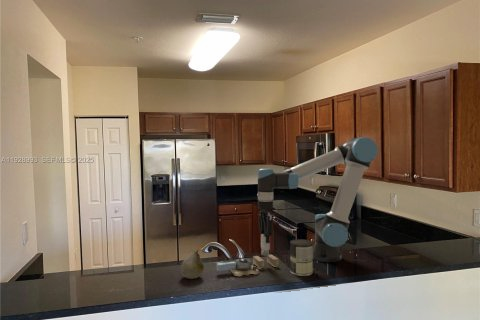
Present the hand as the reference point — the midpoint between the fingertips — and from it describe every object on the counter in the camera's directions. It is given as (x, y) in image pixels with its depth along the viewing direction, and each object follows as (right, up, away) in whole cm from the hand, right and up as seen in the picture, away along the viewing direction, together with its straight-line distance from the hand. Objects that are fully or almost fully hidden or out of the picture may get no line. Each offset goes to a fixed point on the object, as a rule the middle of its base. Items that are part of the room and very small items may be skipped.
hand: (265, 248), depth 172 cm
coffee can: (+16, -9, -9) cm, 21 cm away
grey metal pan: (-15, -7, -9) cm, 19 cm away
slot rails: (0, -9, 0) cm, 9 cm away
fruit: (-33, -9, -16) cm, 38 cm away
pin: (0, -3, 0) cm, 3 cm away
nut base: (-11, -9, -8) cm, 16 cm away
